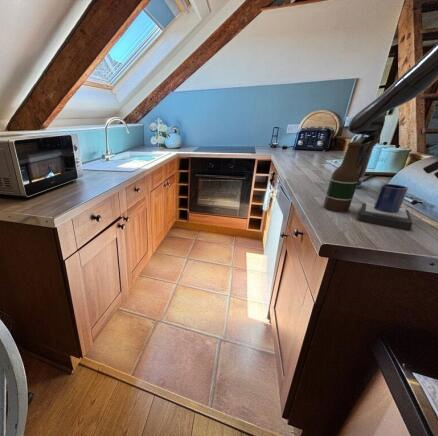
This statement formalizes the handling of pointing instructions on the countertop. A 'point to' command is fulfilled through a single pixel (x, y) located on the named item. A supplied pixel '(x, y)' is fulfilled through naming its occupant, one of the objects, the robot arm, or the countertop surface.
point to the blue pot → (390, 198)
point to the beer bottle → (343, 181)
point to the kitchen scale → (385, 217)
